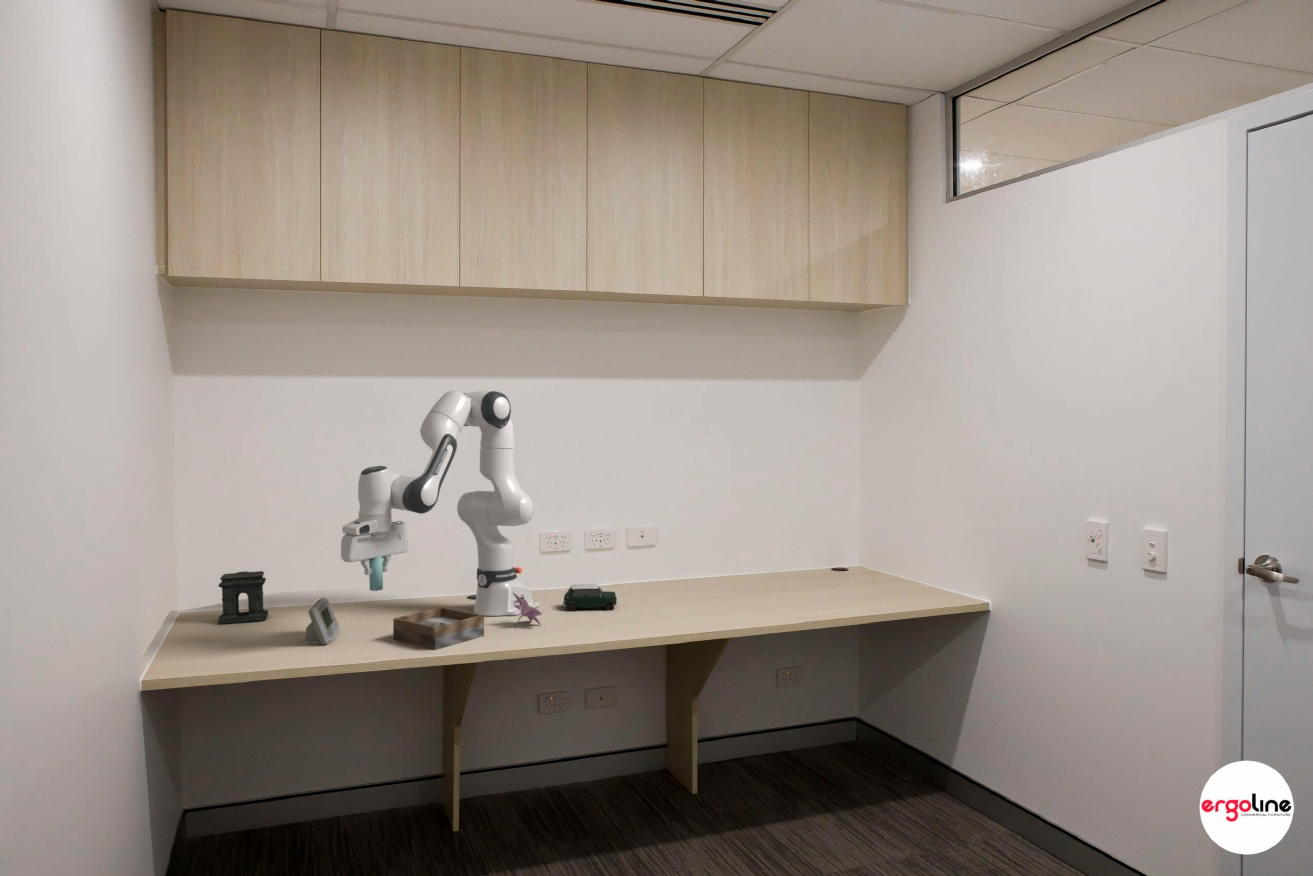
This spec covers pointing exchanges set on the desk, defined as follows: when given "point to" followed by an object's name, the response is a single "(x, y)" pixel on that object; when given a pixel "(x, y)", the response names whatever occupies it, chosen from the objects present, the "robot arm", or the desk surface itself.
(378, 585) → the peg
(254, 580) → the model
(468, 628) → the bore box
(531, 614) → the lily
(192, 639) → the desk surface
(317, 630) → the digital clock
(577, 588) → the miniature car
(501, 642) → the desk surface
